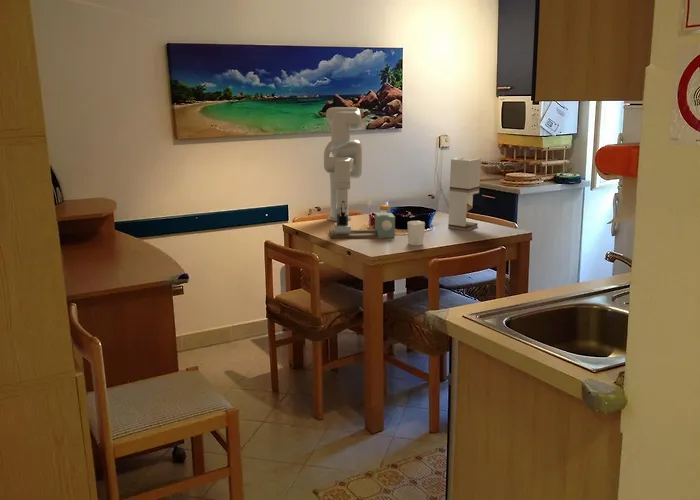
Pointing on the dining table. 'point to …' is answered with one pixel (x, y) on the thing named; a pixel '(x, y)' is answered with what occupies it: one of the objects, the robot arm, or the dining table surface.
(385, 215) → the pale green block
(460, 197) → the coffee grinder
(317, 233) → the dining table surface
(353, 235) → the rail board
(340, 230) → the carriage
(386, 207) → the button
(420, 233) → the white cup
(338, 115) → the robot arm
